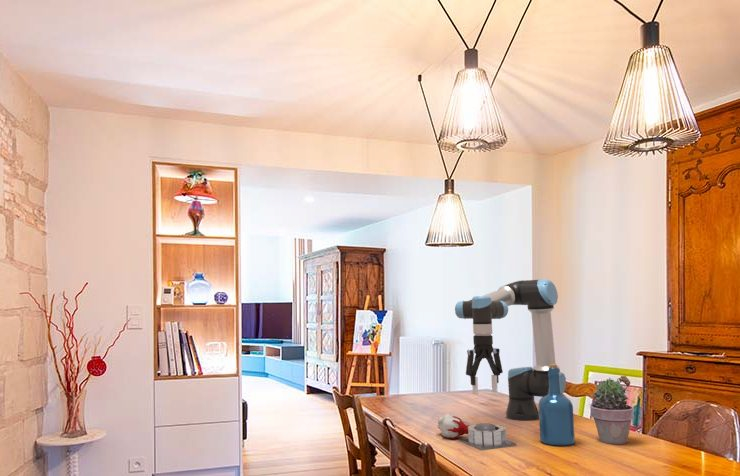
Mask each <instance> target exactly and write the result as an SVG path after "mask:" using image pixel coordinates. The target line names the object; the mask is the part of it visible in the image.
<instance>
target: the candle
mask: <svg viewBox="0 0 740 476" xmlns="http://www.w3.org/2000/svg"><path fill="white" fill-rule="evenodd" d="M437 422H438V423H437V428H438V429H439V430H440V431H441V434H442V436H443V437H444V438H449V439H452V440H455V439H457V438H458V439H459V438H460V437H461V436H464V435H468V426H470V425H468V424H466V423H465V422H463V420H462V419H461V418H460V417H458V416H457V415H455V414H454V415H453V414H451V413H448V412H447V413H445V414H444V415H443V416H439V417H438V420H437Z"/></svg>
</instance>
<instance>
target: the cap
mask: <svg viewBox="0 0 740 476" xmlns="http://www.w3.org/2000/svg"><path fill="white" fill-rule="evenodd" d="M475 424H476V429H477V430H483V431H493V430H495V425H496V424H493V423H489V422H488V423H487V422H483V423H481V422H480V423H475Z"/></svg>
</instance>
